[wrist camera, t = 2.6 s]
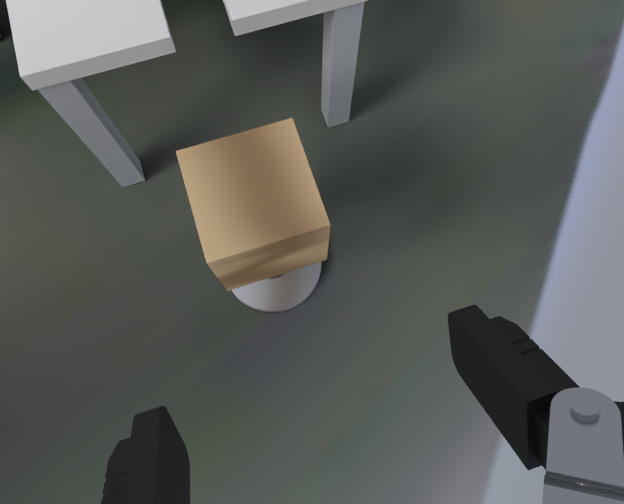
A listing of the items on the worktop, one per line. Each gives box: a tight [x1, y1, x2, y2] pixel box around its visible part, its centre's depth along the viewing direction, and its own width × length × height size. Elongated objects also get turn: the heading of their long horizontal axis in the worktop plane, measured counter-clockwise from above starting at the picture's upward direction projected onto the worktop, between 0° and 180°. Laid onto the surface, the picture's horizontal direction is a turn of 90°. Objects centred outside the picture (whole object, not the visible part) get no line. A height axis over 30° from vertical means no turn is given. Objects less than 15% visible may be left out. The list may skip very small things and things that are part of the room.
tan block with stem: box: [176, 118, 330, 313], centre depth 26 cm, size 6×6×12 cm
